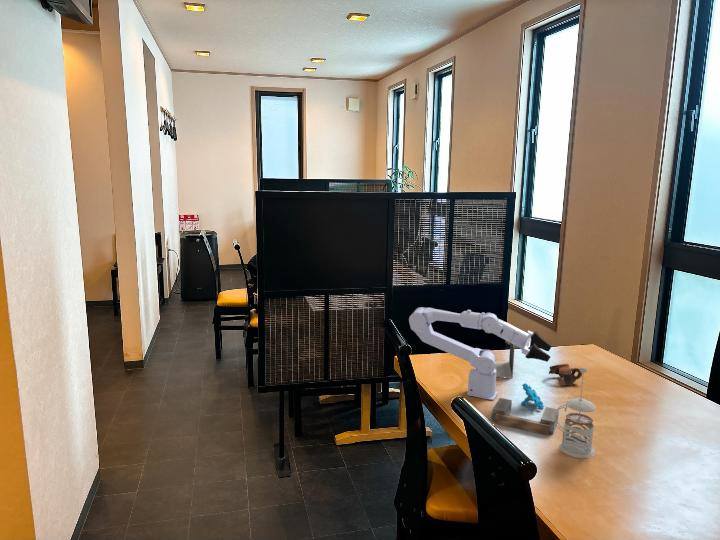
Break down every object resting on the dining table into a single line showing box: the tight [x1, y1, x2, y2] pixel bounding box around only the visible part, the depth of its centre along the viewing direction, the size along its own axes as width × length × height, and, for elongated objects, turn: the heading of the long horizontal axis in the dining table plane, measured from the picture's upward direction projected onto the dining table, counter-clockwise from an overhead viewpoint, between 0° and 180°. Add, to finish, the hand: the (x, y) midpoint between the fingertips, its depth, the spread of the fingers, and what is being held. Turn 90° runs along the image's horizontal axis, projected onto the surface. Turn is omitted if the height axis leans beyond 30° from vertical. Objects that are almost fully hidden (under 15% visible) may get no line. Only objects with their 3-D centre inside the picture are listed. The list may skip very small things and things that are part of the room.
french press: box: [554, 366, 596, 459], centre depth 150 cm, size 10×12×25 cm
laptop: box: [495, 342, 515, 379], centre depth 215 cm, size 18×12×13 cm
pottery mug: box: [548, 363, 583, 387], centre depth 203 cm, size 12×10×8 cm
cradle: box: [491, 397, 560, 436], centre depth 169 cm, size 19×12×4 cm, turn 62°
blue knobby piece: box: [520, 383, 545, 410], centre depth 181 cm, size 11×6×10 cm
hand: (549, 353), depth 181 cm, fingers open, 7 cm apart
